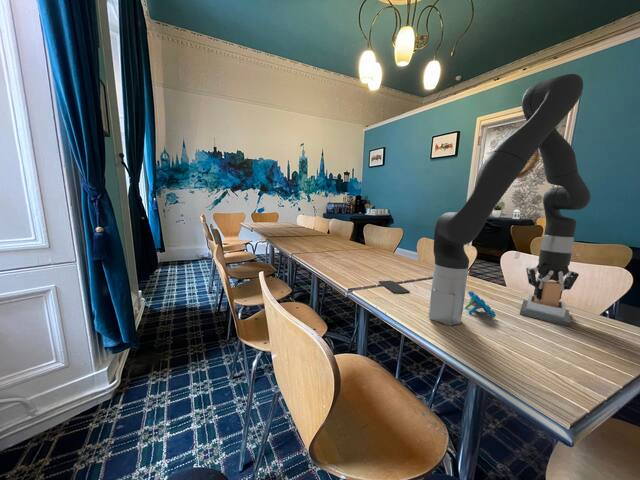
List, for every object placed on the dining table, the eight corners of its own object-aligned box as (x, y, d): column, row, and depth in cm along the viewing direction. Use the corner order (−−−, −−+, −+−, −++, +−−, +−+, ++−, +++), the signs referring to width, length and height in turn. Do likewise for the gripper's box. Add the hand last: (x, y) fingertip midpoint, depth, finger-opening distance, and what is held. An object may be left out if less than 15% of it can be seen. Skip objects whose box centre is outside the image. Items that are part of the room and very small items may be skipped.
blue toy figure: (503, 318, 77) (479, 293, 78) (487, 330, 78) (464, 305, 79) (486, 308, 88) (465, 286, 89) (472, 318, 89) (452, 297, 90)
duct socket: (569, 327, 76) (572, 313, 75) (519, 314, 84) (521, 301, 84) (567, 314, 86) (570, 301, 85) (523, 303, 94) (525, 292, 93)
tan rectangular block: (557, 308, 82) (562, 284, 81) (542, 306, 83) (546, 283, 82) (548, 302, 86) (553, 280, 85) (534, 301, 87) (537, 279, 86)
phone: (392, 280, 115) (411, 291, 100) (392, 282, 115) (411, 293, 100) (377, 281, 113) (394, 292, 99) (377, 282, 113) (394, 294, 99)
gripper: (537, 249, 79) (528, 301, 82) (591, 253, 76) (580, 306, 79) (524, 246, 87) (516, 293, 89) (573, 249, 84) (563, 298, 86)
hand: (546, 299), depth 84 cm, fingers closed on tan rectangular block, 4 cm apart
